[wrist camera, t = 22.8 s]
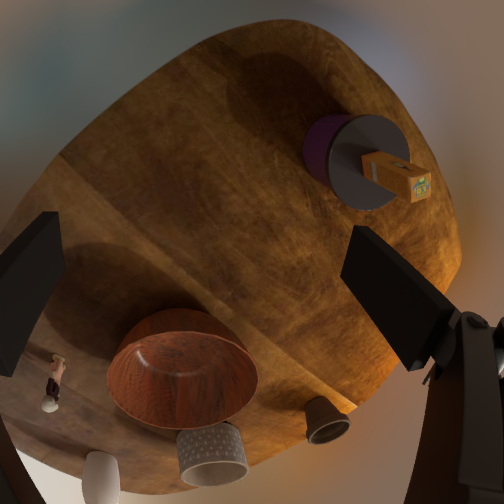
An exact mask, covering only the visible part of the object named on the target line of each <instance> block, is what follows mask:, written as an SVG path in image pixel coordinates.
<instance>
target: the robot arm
mask: <svg viewBox="0 0 504 504" xmlns="http://www.w3.org/2000/svg"><path fill="white" fill-rule="evenodd" d="M64 271H65V263H64V256H63V249H62V241H61V233H60V224H59V214H58V212H42V213H41V214H40V215H39V216H38V217H37V218H36V219H35V220H34V221H33V222H32V223H31V224H30V225H29V226H28V227H27V228H26V229H25V230H24V231H23V232H22V233H21V234H20V235H19V236H18V237H17V238H16V239H15V240H14V241H13V242H12V243H11V244H10V245H9V246H8V247H7V249H6V250H5V251H4V252H3V253H2V254H1V255H0V375H2V376H6V377H12V375H13V372H14V370H15V368H16V365H17V363H18V361H19V358H20V356H21V354H22V352H23V349H24V347H25V345H26V343H27V341H28V339H29V337H30V334H31V332H32V330H33V328H34V326H35V324H36V322H37V320H38V318H39V316H40V314H41V312H42V310H43V309H44V307H45V305H46V303H47V301H48V299H49V297H50V295H51V294H52V292H53V290H54V288H55V286H56V285H57V283H58V281H59V279H60V277H61V276H62V274H63V272H64ZM340 277H341V278H342V280H343V281H344V282H345V284H346V285H347V286H348V288H349V289H350V290H351V292H352V293H353V294H354V296H355V297H356V299H357V300H358V301H359V303H360V304H361V305H362V307H363V308H364V309H365V311H366V312H367V314H368V315H369V316H370V318H371V319H372V320H373V322H374V323H375V325H376V326H377V327H378V329H379V330H380V332H381V333H382V334H383V336H384V337H385V339H386V340H387V342H388V343H389V344H390V346H391V347H392V349H393V350H394V352H395V353H396V354H397V356H398V357H399V359H400V360H401V362H402V363H403V365H404V366H405V368H406V369H407V371H408V372H409V371H414V370H418V369H422V368H424V366H425V365H426V363H427V361H428V359H429V358H430V356H432V358H433V359H434V360H435V363H434V365H433V366H432V368H431V370H430V371H429V373H428V374H427V376H426V378H425V379H424V381H423V383H422V384H423V385H425V383H426V382H427V381H428V380H430V383H429V385H428V386H429V390H428V397H427V404H426V410H425V416H424V421H423V427H422V433H421V437H420V442H419V447H418V451H417V456H416V460H415V464H414V468H413V472H412V476H411V480H410V483H409V487H408V490H407V494H406V497H405V500H404V504H504V377H503V378H502V377H501V375H500V373H501V372H502V370H503V369H504V317H503V318H501V319H500V321H499V323H498V325H497V327H496V328H495V327H490V326H489V325H488V323H487V321H486V320H485V319H483V318H482V317H481V316H480V315H478V314H476V313H473V312H463V313H461V312H460V311H459V310H458V309H457V308H456V307H455V306H454V305H453V304H452V303H451V302H450V301H449V300H448V299H447V298H446V297H445V296H444V295H443V294H442V293H441V292H440V291H439V290H437V288H436V287H435V286H434V285H432V284H431V283H430V282H429V281H428V280H427V279H426V278H425V277H424V276H423V275H422V274H421V273H420V272H418V271H417V270H416V269H415V268H414V267H413V266H412V265H411V264H410V263H409V262H408V261H407V260H405V259H404V258H403V257H402V256H401V255H400V254H399V253H398V252H397V251H395V250H394V249H393V248H392V247H391V246H390V245H389V244H387V243H386V242H385V241H384V240H383V239H382V238H381V237H379V236H378V235H377V234H376V233H375V232H374V231H372V230H371V229H370V228H369V227H368V226H358V225H354V227H353V231H352V235H351V239H350V243H349V246H348V250H347V254H346V257H345V261H344V264H343V268H342V271H341V275H340ZM0 504H46V502H45V501H44V499H43V498H42V496H41V494H40V493H39V491H38V489H37V488H36V486H35V484H34V483H33V481H32V479H31V477H30V476H29V474H28V472H27V470H26V469H25V466H24V465H23V463H22V461H21V459H20V457H19V455H18V453H17V451H16V449H15V447H14V445H13V443H12V441H11V438H10V436H9V434H8V432H7V430H6V427H5V425H4V423H3V420H2V418H1V416H0Z"/></svg>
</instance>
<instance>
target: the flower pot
mask: <svg viewBox="0 0 504 504" xmlns="http://www.w3.org/2000/svg"><path fill="white" fill-rule="evenodd" d="M305 415H306V422H307V428H308V429H307V431H306V437H307V439H308V442H309V443H310V444H312V445H322V444H326V443H329V442H331V441H334V440H336V439H338V438H339V437H341V436H342V435H343V434H345V433H346V432H347V431H348V430H349V428H350V426H351V421H350V420H349V418H348V417H347V415H346V414H343V413H340V411H339V410H338V409H337V408H336V407H335V406H334V405H333V404H332V403H331V402H330V401H329V400H328V399H327V398H325V397H319V398H316V399H313V400H312V401H310V402H309V403H308V404H307V405H306V407H305Z"/></svg>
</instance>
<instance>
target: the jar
mask: <svg viewBox="0 0 504 504" xmlns="http://www.w3.org/2000/svg"><path fill="white" fill-rule="evenodd" d="M377 151H383V152H385V153H388V154H390V155H393V156H395V157H397V158H400V159H402V160H405V161H407V162H409V163H410V153H409V147H408V143H407V141H406V138H405V136H404V134H403V133H402V131H401V130H400V129H399V127H398V126H397V125H396V124H395V123H393V122H392V121H390V120H389V119H387V118H385V117H382V116H378V115H371V114H364V115H359V116H356V115H349V114H342V113H333V114H329V115H326V116H323V117H322V118H320V119H319V120H317V121H316V122H315V123H314V124H313V125H312V126H311V128H310V129H309V131H308V132H307V134H306V137H305V140H304V144H303V159H304V163H305V166H306V168H307V170H308V172H309V173H310V175H311V176H312V177H313V178H314V179H315V180H317V181H318V182H319V183H321V184H322V185H324V186H326V187H327V188H329V189H330V190H332V191H333V193H334V194H335V195H336V197H337V198H338V199H340V200H341V201H342V202H343V203H345V204H346V205H348V206H350V207H352V208H354V209H358V210H365V211H366V210H374V209H377V208H380V207H382V206H384V205H386V204H387V203H389V202H390V201H391V200H392V199H394V198H395V197H396V195H397V194H395V193H393V192H391V191H389V190H388V189H386V188H384V187H382V186H380V185H378V184H377V183H375V182H373V181H371V180H369V179H367V178H365V177H364V171H363V165H362V158H361V156H362V155H366V154H369V153H373V152H377Z"/></svg>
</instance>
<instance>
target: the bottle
mask: <svg viewBox="0 0 504 504" xmlns="http://www.w3.org/2000/svg"><path fill="white" fill-rule="evenodd" d="M82 492H83V497H84V500H85V503H86V504H118V502H119V497H120V480H119V471H118V465H117V460H116V459H115V457H114V456H112V455H111V454H109V453H106V452H102V451H92V452H90V453H88V455H87V457H86V461H85V465H84V468H83V476H82Z"/></svg>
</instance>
